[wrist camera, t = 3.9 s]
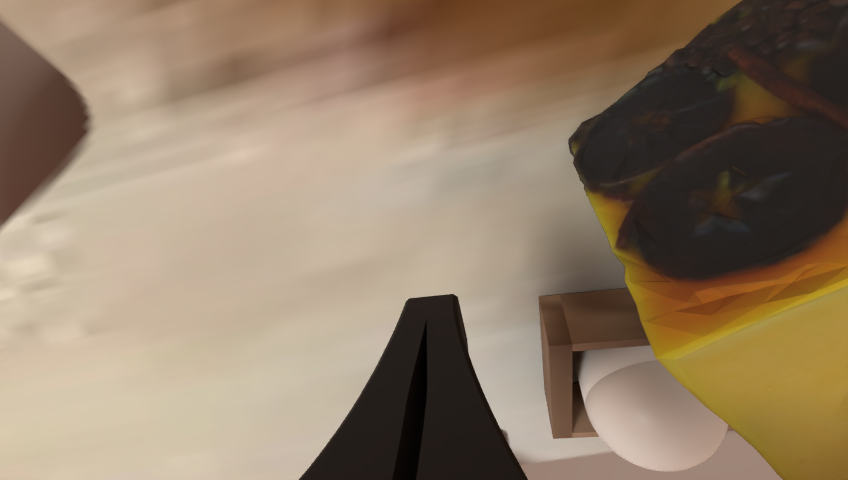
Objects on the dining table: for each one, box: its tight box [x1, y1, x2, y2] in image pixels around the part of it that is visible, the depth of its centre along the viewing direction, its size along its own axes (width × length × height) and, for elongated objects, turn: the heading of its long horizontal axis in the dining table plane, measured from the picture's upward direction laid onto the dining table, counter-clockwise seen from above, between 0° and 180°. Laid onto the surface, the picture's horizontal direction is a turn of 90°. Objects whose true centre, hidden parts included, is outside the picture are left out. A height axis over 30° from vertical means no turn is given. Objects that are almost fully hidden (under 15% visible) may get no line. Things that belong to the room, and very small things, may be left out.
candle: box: [569, 0, 848, 480], centre depth 12 cm, size 10×10×10 cm
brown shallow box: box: [539, 288, 734, 439], centre depth 21 cm, size 16×8×3 cm, turn 102°
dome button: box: [572, 345, 728, 472], centre depth 21 cm, size 6×6×6 cm
